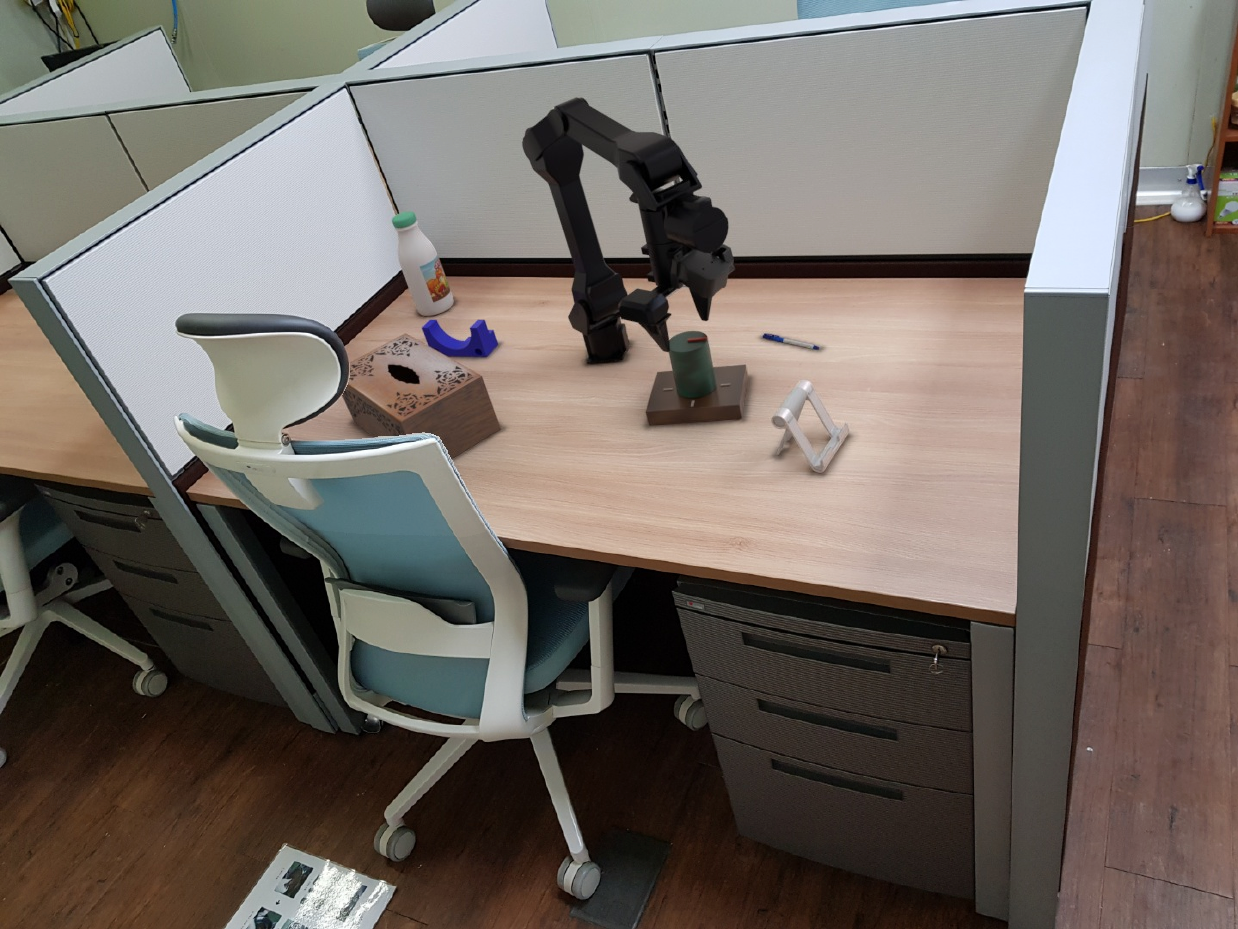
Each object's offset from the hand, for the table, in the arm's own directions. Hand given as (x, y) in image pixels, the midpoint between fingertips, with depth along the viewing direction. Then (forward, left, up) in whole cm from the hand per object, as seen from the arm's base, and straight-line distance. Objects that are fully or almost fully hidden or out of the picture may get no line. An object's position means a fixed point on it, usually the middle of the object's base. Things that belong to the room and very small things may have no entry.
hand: (686, 335), depth 134 cm
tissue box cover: (-46, -1, -12) cm, 47 cm away
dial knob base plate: (0, 0, -11) cm, 11 cm away
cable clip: (-47, +23, -12) cm, 54 cm away
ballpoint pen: (+13, +15, -12) cm, 23 cm away
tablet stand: (+17, -14, -12) cm, 25 cm away
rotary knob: (0, 0, -9) cm, 9 cm away
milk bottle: (-60, +42, -12) cm, 74 cm away
